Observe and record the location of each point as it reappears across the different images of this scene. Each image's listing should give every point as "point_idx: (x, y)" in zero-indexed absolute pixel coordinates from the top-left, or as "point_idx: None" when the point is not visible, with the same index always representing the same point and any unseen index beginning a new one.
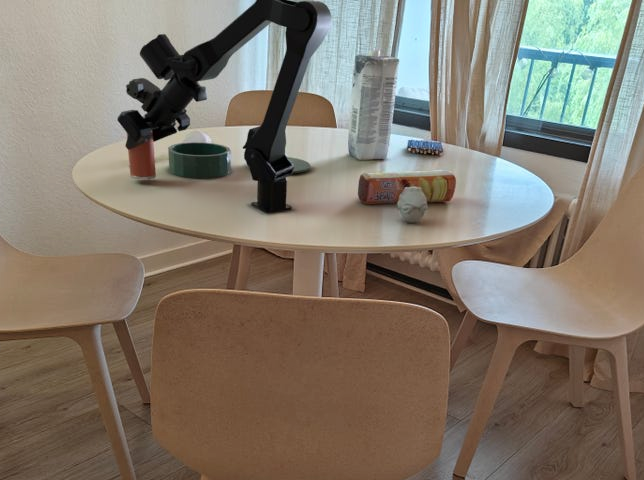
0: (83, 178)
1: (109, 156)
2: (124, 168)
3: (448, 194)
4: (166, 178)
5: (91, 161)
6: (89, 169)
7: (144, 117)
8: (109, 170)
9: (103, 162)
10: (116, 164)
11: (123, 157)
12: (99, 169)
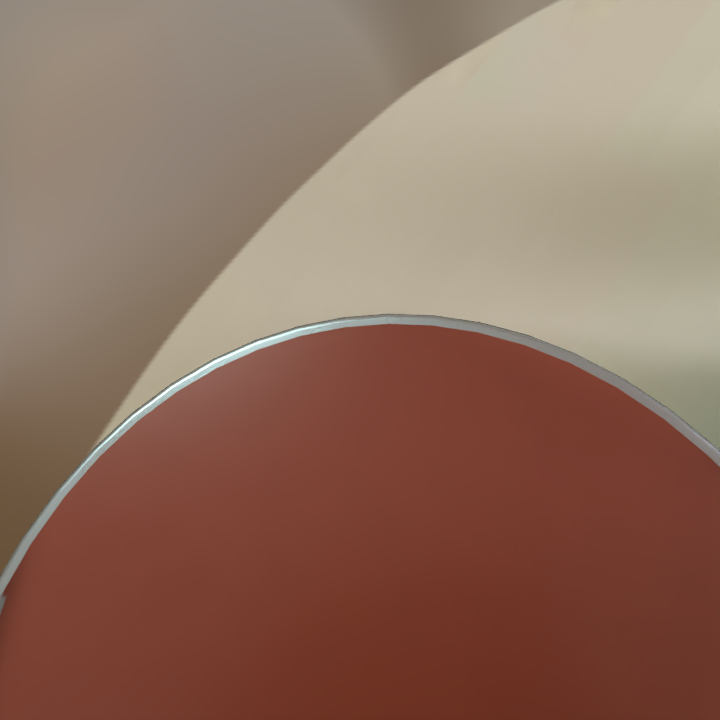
0: (202, 308)
1: (553, 65)
2: (492, 263)
3: None
4: None
5: (429, 97)
6: (334, 195)
7: (698, 713)
8: (401, 255)
9: (466, 130)
10: (501, 184)
11: (607, 102)
12: (372, 217)
